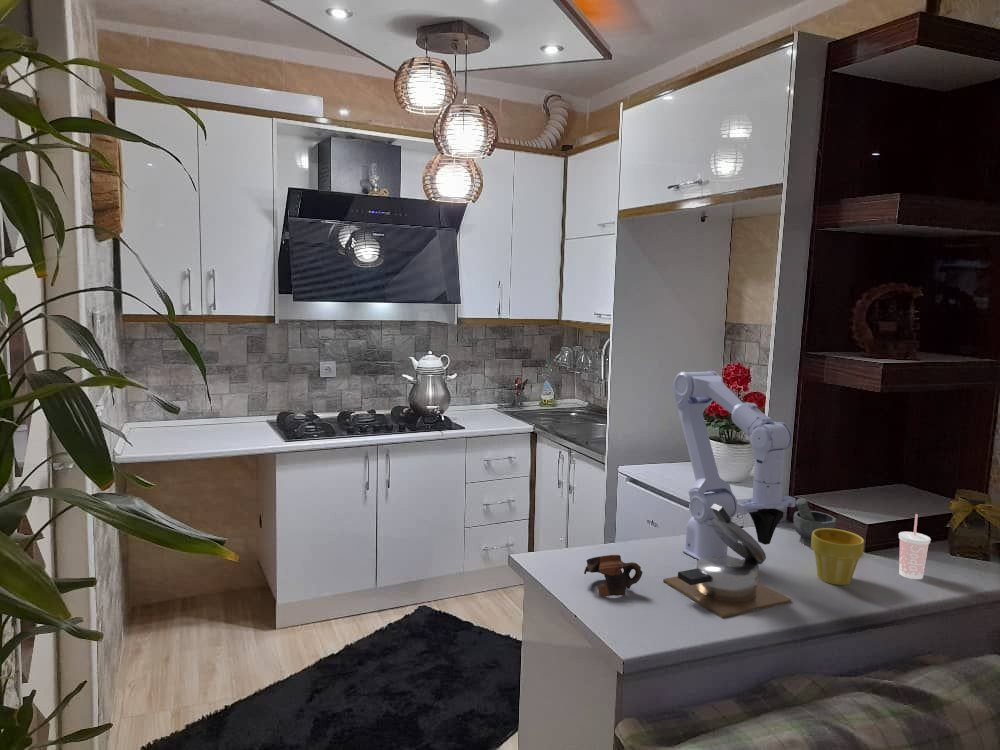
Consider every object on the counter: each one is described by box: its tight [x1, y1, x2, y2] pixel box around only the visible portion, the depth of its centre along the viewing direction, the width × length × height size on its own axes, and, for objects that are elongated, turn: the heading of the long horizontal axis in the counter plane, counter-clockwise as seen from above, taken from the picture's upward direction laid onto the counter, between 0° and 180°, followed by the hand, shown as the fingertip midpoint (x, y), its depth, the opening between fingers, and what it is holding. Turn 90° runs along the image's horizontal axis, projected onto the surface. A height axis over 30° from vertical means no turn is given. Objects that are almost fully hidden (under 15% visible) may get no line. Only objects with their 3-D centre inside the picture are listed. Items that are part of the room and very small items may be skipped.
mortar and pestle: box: [792, 497, 837, 547], centre depth 174 cm, size 11×9×12 cm
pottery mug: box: [583, 554, 643, 598], centre depth 147 cm, size 12×10×8 cm
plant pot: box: [810, 528, 865, 586], centre depth 153 cm, size 10×10×10 cm
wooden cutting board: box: [662, 556, 793, 619], centre depth 145 cm, size 18×20×5 cm
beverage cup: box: [898, 513, 932, 580], centre depth 156 cm, size 6×6×14 cm
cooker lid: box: [711, 504, 767, 565], centre depth 145 cm, size 17×13×1 cm
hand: (763, 542), depth 149 cm, fingers closed
